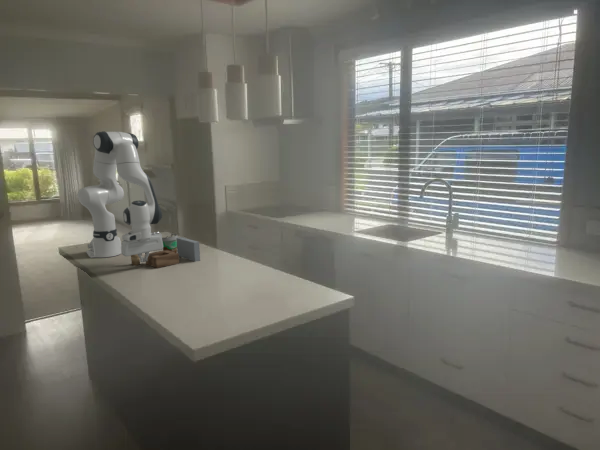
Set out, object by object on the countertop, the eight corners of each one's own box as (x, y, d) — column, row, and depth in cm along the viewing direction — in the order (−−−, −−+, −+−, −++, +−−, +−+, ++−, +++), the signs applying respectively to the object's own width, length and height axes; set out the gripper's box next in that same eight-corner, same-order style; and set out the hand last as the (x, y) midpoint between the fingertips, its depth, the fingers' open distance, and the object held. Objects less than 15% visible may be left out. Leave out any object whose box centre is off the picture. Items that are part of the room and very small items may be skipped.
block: (146, 263, 224) (145, 254, 223) (167, 259, 232) (167, 249, 231) (157, 267, 215) (156, 258, 214) (179, 263, 224) (178, 253, 223)
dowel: (130, 264, 223) (129, 249, 222) (138, 263, 226) (136, 247, 225) (133, 266, 220) (132, 250, 219) (141, 264, 223) (140, 249, 222)
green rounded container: (172, 255, 239) (171, 238, 238) (162, 255, 241) (161, 237, 239) (183, 250, 251) (181, 233, 250) (173, 250, 253) (171, 233, 251)
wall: (177, 255, 239) (176, 237, 238) (182, 254, 241) (181, 237, 240) (195, 261, 227) (194, 242, 225) (200, 260, 229) (199, 241, 227)
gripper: (158, 230, 223) (160, 256, 226) (118, 236, 209) (121, 264, 212) (164, 231, 219) (166, 258, 221) (124, 238, 205) (126, 266, 207)
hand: (144, 261), depth 217 cm, fingers closed
